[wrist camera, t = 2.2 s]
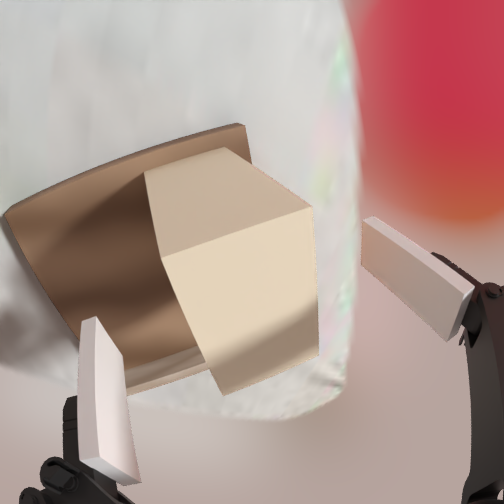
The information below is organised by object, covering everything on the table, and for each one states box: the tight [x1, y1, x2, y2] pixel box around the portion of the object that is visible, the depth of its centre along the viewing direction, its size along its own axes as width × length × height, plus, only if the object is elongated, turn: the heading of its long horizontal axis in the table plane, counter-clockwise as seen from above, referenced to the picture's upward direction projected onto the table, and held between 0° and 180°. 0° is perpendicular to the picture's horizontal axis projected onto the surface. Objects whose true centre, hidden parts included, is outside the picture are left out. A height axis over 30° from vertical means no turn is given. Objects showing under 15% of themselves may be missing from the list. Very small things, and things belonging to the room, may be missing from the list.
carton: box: [144, 147, 319, 396], centre depth 16 cm, size 8×5×10 cm, turn 10°
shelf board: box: [4, 123, 252, 396], centre depth 21 cm, size 17×16×4 cm
